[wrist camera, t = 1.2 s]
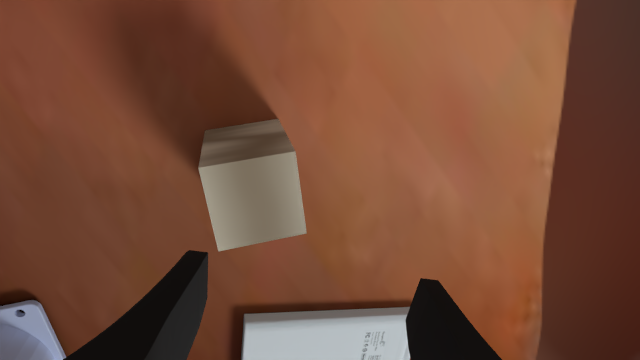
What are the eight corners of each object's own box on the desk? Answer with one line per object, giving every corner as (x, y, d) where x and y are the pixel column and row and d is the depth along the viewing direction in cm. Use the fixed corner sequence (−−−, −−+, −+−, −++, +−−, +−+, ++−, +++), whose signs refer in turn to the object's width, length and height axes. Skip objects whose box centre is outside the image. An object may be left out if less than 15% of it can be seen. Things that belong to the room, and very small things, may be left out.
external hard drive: (243, 308, 27) (412, 301, 30) (237, 398, 30) (392, 384, 33) (244, 324, 26) (422, 316, 29) (237, 417, 29) (400, 401, 32)
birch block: (219, 196, 23) (218, 251, 18) (205, 130, 22) (198, 167, 16) (288, 184, 24) (306, 233, 19) (278, 118, 22) (295, 151, 17)
